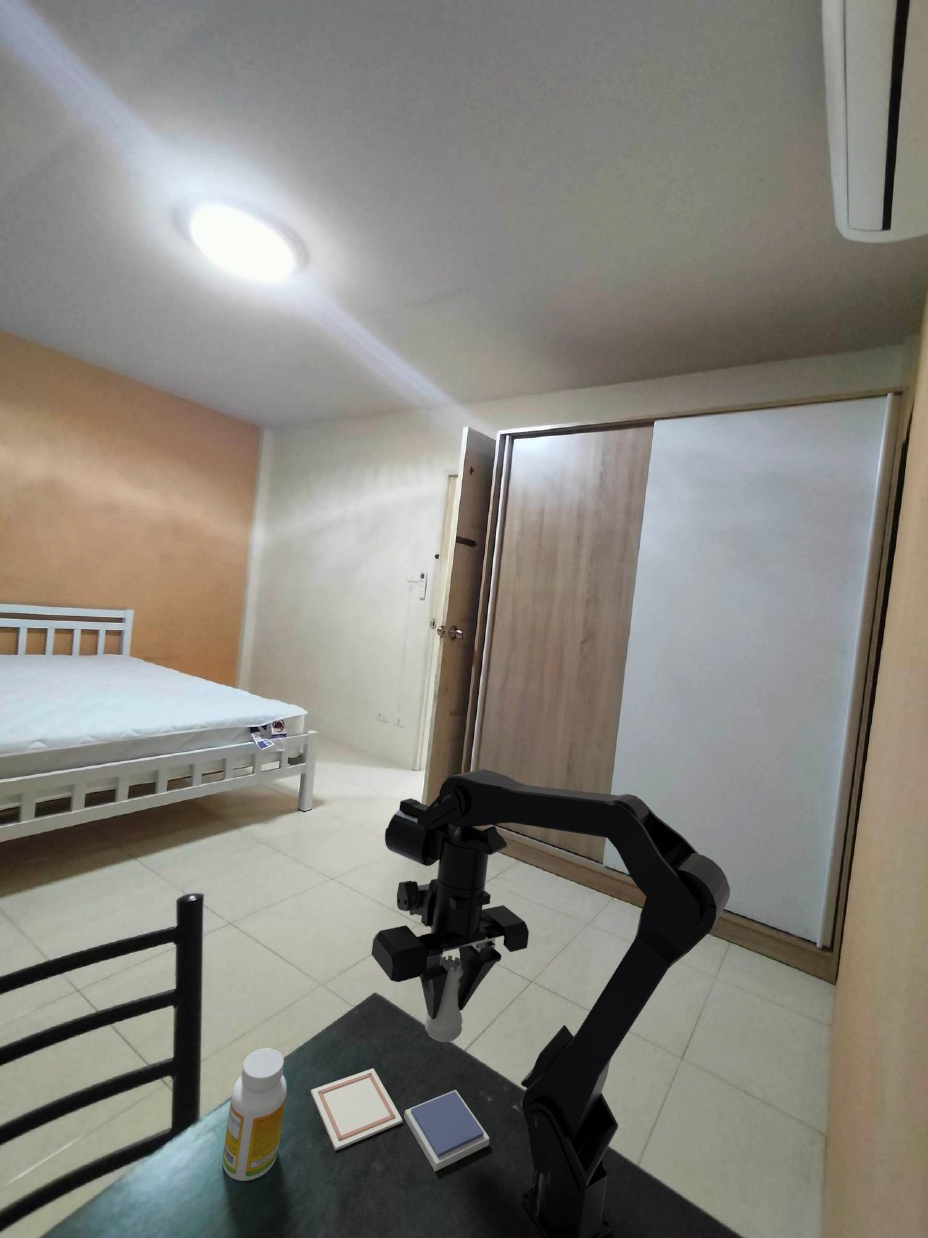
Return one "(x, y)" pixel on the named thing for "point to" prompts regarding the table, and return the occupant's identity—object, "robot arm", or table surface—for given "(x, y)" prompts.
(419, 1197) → the table surface
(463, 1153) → the ink pad
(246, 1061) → the supplement bottle
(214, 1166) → the table surface
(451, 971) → the rook chess piece
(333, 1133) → the marked square board
